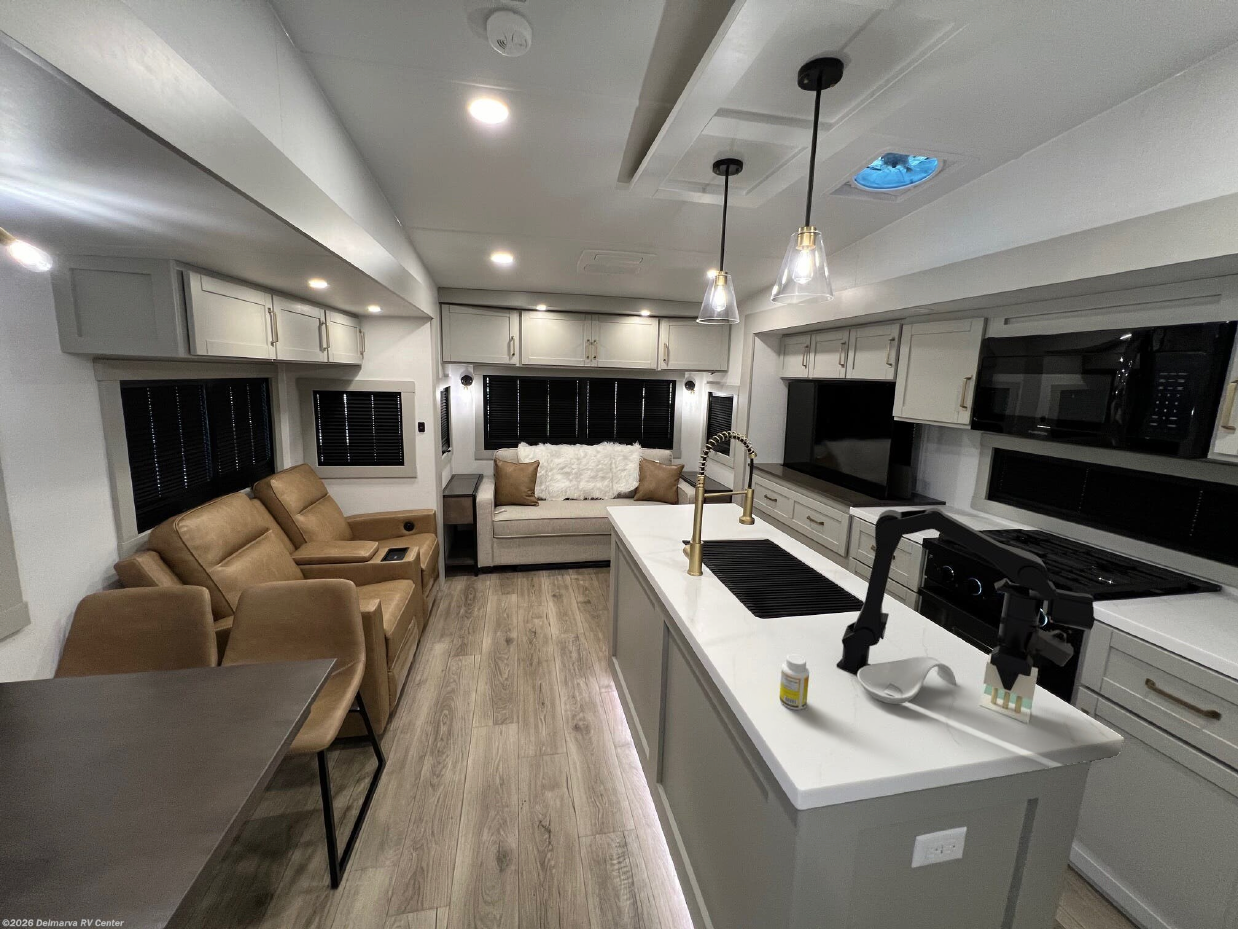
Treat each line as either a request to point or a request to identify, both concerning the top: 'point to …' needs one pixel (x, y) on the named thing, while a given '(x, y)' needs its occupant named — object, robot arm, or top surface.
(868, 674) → the spoon rest
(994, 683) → the block
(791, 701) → the supplement bottle
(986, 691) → the header board
